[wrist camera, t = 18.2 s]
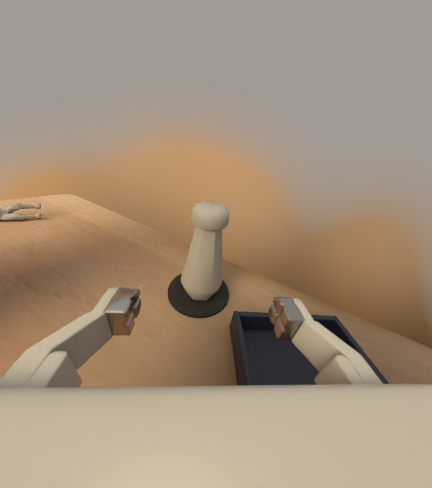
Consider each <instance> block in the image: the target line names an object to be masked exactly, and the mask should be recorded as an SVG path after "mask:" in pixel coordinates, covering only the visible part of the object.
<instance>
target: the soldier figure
mask: <svg viewBox="0 0 432 488" xmlns="http://www.w3.org/2000/svg"><path fill="white" fill-rule="evenodd" d="M30 208H36V209H40V208H41V204H38V205H26V204H21V203H17V204H12V205H9V206H6V207H4V208H3V209H0V221H2V220H3V221H7V220H15V219H18V220H24V219H29V218H41V214H38V215H22V214H18V213H14V214H11V213H13V212H14V211H17V210H19V209H30Z"/></svg>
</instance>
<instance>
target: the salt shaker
mask: <svg viewBox="0 0 432 488" xmlns="http://www.w3.org/2000/svg"><path fill="white" fill-rule="evenodd" d="M191 220H192V223H193V224H194V225H195V226H196V228H195V231H194V235H193V238H192V242H191V245H190V249H189V252H188V256H187V259H186V262H185V265H184V269H183V272H182V276H181V283H182V285H183V287H184V288H185V290H186V292H187V293H188V294H189V295H190V296H191V298H192V299H193V300H206V301H207V300H208V299H209V298H210V297H211V296H212V295H213V294H214V293H215V292H217V291H218V289H219V288H220V286H221V284H222V229H224V228H225V227H226V226H227V225H228V221H229V211H228V210H227V208H226V207H225V206H223V205H221V204H218V203H214V202H200V203H197V204H196V205H194V206H193V210H192V214H191Z"/></svg>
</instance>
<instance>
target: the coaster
mask: <svg viewBox="0 0 432 488" xmlns="http://www.w3.org/2000/svg"><path fill="white" fill-rule="evenodd" d="M181 276H182V274H180V275H178V276H177V277H176V278H174V279H173V281H172V282H171V283H170V285H169V288H168V298H169V301H170V303H171V305H172V306H173V307H174V308H175V309H176V310H177V311H178V312H180V313H182V314H184V315H186V316H189V317H194V318H205V317H210V316H213V315H215V314H217V313H219V312H220V311H221V310H222V309H223V308H224V307H225V306H226V304H227V302H228V298H229V291H228V288H227V285H226V284H225V282H224V281H223V280H222V284H221V286H220V288H219V289H218V291H217V292H215V293H214V294H213V295H212V296H211V297H210V298H209V299H208V300H207V301H206V300H193V299H192V298H191V296H190V295H189V294H188V293H187V292H186V290H185V288H184V287H183V285H182V283H181Z"/></svg>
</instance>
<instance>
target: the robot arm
mask: <svg viewBox="0 0 432 488" xmlns="http://www.w3.org/2000/svg"><path fill="white" fill-rule="evenodd" d="M139 295H140V291H139V289H131V288H118V287H109V288H108V289H107V290H106V292H105V293H104V294H103V296H102V297H101V299H100V300H99V302H98V303H97V304H96V306H95V307H94V309H93V310H92V311H91V312H87V313H85V314H84V315H82V316H80V317H79V318H77V319H75V320H74V321H72V322H70V323H69V324H67V325H65V326H64V327H62V328H61V329H59V330H57V331H56V332H54V333H52V334H51V335H49V336H47V337H46V338H44V339H42V340H41V341H39V342H38V343H36V344H34V345H33V346H31V347H29V348H28V349H26V350H25V351H24V352H23V354H22V355H21V356H20V357H19V358H18V359H17V360H16V361H15V362H14V364H13V365H12V366H11V367H10V368H9V369H8V370H7V371H6V372H5V373H4V375H3V376H2V377H1V378H0V488H432V384H383V383H382V381H381V380H380V379H379V377H378V376H377V375H376V374H375V372H374V371H373V370H372V368H371V367H370V366H369V364H368V363H367V362H366V360H365V359H364V358H363V357H362V355H361V354H359V353H358V352H357V351H355V350H354V349H353V348H351V347H350V346H349V345H347V344H346V343H345V342H344V341H342V340H341V339H340V338H338V337H337V336H336V335H334V334H333V333H332V332H330V331H329V330H328V329H326V328H325V327H324V326H322V325H321V324H320V323H318V322H317V321H314V320H313V318H312V317H311V315H310V313H309V312H308V310H307V309H306V307H305V306H304V304H303V303H302V301H301V300H300V299H299V298H282V297H275V298H274V300H273V303H274V304H273V305H272V306H270V309H269V318H270V321H271V322H272V323H273V324H274V325H275V326H274V331H275V334H276V336H277V339H280V340H291V341H292V342H293V343H294V345H295V346H296V347H297V348H298V349H299V350H300V351H301V352H302V353H303V355H304V356H305V357H306V358H307V359H308V360H309V361H310V362H311V363H312V365H313V366H314V367H315V368H316V369H317V370H318V371H319V374H318V375H317V376H316V377H315V378H314V381H315V384H316V385H230V386H133V387H80V385H81V383H82V380H81V377H80V376H79V374H78V372H77V369H78V368H79V367H80V366H81V365H83V364H84V363H85V362H86V361H87V360H88V359H89V358H90V357H91V356H92V355H93V354H94V353H95V352H96V351H98V350H99V349H100V348H101V347H102V346H103V345H104V344H105V343H106V342H107V341H108V340H109V339H110V338H111V337H112V335H130V334H131V331H132V329H133V327H134V324H135V323H134V319H135V318H136V317H137V316H138V314H139V311H140V307H141V299H140V298H139Z"/></svg>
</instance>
